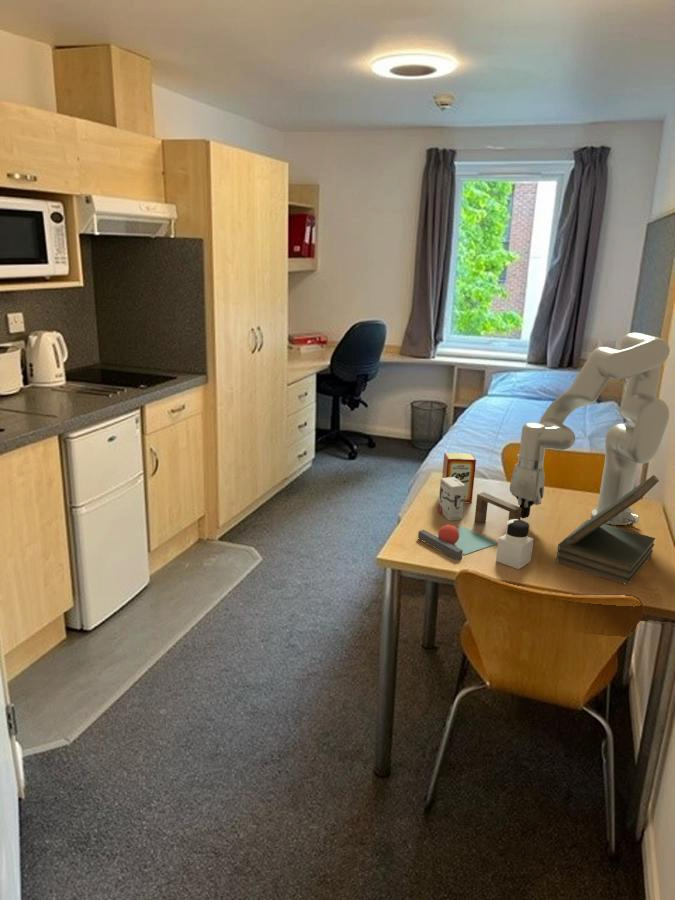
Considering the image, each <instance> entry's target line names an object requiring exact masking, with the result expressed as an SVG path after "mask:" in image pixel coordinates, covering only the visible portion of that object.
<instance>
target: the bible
mask: <svg viewBox="0 0 675 900" xmlns="http://www.w3.org/2000/svg"><path fill="white" fill-rule="evenodd" d="M659 481H660V480H659V479H658V477H657V476H656V475H654V474H653V475H652V476H650V477H649V478H647V479H646V480H644V481H643V482H642V483H640V484H639V485H637V486H636V487H635V488H634V487H633V490H631V491H630V492H629V493H627V494H626V495H624V496H623V497H621V498H620V499H618V500H617V501H616V502H614V503H613V504H611V505H610V506H608V507H607V508H605V509H604V510H603V511H601V512H600V513H598V514H597V515H595V516H594V517H592V516H591V518H590V519H586V520H585V521H584V522H582V523H581V524H580V525H579V526H578V527H576V529H575V530H573V531H572V532H570V534H568V535H567V537H565V538H564V539H563V540H562V541H561V542H559V543H558V544H557V552H556V558H555V563H556V564H559V565H563V566H567V567H570V568H573V569H575V570H579V571H582V572H585V573H588V574H591V575H594V576H596V577H600V578H603V579H607V580H609V579H610V580H609V581H612V580H613V581H612V582H615V581H617V582H616V583H618V582H621V583H625V584H630V583H631V582H632V581H633V580H634V578H635V577H636V576H637V575H638V573H639V572H640V571H641V570H642V568H643V567H644V566H645V565H646V563H647V562H648V561H649V559H650V558H651V557H652V554H653V552H654V550H653V548H654V546H655V543H654V541H655V540H656V537H652V536H649V535H644V534H642V533H639V532H638V533H637V532H635V531H631V530H627V529H623V528H620V527H616V526H614V525H609V524H605V523H606V522H608V521H609V520H611V519H612V518H613V517H615V516H616V515H618V514H619V513H621V512H622V511H624V510H625V509H627V508H628V507H630V508H631V507H632V505H635V503H636V504H637V502H639V501H640V500H641V499H642V498H643V497H644V496H645V495H646V494H647V493H649V491H651V489H652V488H654V486H656V484H657V483H658V482H659ZM650 556H651V557H650ZM649 557H650V558H649ZM647 560H648V561H647ZM646 561H647V562H646ZM643 565H644V566H643ZM642 566H643V567H642ZM641 567H642V568H641ZM639 570H640V571H639ZM638 571H639V572H638ZM635 575H636V576H635ZM634 576H635V577H634ZM632 579H633V580H632ZM631 580H632V581H631ZM630 581H631V582H630ZM629 582H630V583H629ZM621 583H620V584H621Z"/></svg>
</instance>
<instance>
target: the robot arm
mask: <svg viewBox="0 0 675 900" xmlns="http://www.w3.org/2000/svg"><path fill="white" fill-rule="evenodd" d="M669 355H670V345H669V343H668V342H667V341H666V340H665V339H663V338H662V337H657V336H654V335H649V334H646V333H642V332H630V333H627V334H626V335H624V336H623V338H622V339H621V342H620V349H616V348H612V347H608V346H600V347H597V348H595V349H594V350H592V352H591V353H590V355H589V357H588V358H587V359H586V362H584V364H583V366H582V368H581V370H580V371H579V372H578V374H577V376H575V377H576V378H575V379H574V381H573V383H572V384H571V385H570V387H569V388H568V389H567V390H565V392H562V393H561V394H560V395H559V396H558V397H557V398H555V400H553V401H552V403H550V404H549V406H548V407H547V408H546V410H545V412H544V413H543V415H542V417H541V418H540V420H539V422H526V423H525V424H523V425H522V429H521V436H520V444H519V453H518V454H517V455H516V459H518V461H517V463H515V464H514V468H513V470H512V473H511V479H510V484H509V492H510V493H511V495H512V496H514V497H515V498H516V500H517V502H518V505H519V507H520V508H522V511H521V519H526V518H527V519H528V518H529V517H530V513H531V507H532V506H533V505H536V506H538V505H539V506H540V505H541V504H542V499H543V497H544V493H545V469H544V460H545V453H546V449H549V450H551V449H552V450H556V451H564V450H567V449H570V448H571V447H572V446H573V445H574V444H575V441H576V433H575V432H574V431H573V430H572V429H571V428H570V427H569V426H566V425H565V424H564V422H565V421H566V420H567V418H568V417H569V415H570V414H572V413H573V412H574V411H575V410H577V409H579V408H582V407H585V406H589V405H592V404H594V403H596V402H597V399H598V398H599V397H600V395H601V394H602V392H603V390H604V389H605V387H606V385H607V384H608V382H609V381H610V380H612V381H614V380H615V381H621V380H624V379H628V382H627V385H626V388H625V392H624V395H623V397H622V401H621V404H620V410H619V412H620V415H621V416H622V417H623V418H624V419H626V420H627V421H630V422H631V423H633V424H634V426H633V425H632V424H628V423H616V424H615V425H613V426H611V427H610V428H609V429H608V431H607V432H606V435H605V439H604V449H605V451H604V452H605V454H604V455H605V457H604V458H605V459H604V465H603V471H602V477H601V484H600V487H599V488H600V489H599V495H598V496H599V497H598V502H597V507H596V508H594V509H592V510H591V512H590V513H591V514H590V515H591V516H590V517H591V518H592V517H594V516H595V515H597V514H598V513H600V512H601V511H603V510H604V509H605V508H607V507H608V506H610V505H611V504H613V503H614V502H616V501H617V500H618V499H620V498H621V497H623V496H624V495H626V494H627V493H629V492H630V491H631V490H633V489H634V485H635V480H636V476H637V475H636V474H637V467H638V466H637V465H638V464H639V465H640V464H642V465H643V464H647V463H648V462H650V461H652V460H653V458H654V457H655V456H656V455H657V453H658V450H659V447H660V445H661V442H662V440H663V436H664V434H665V431H666V428H667V425H668V423H669V419H670V409H669V406H668V405H667V403H666V402H665V401H664V400H662V399H661V398H658V397H656V396H657V393H658V389H659V385H660V381H661V377H662V376H661V373H662V371H661V365H663V363H665V362H666V361H667V359H668V358H669ZM639 521H640V516H639V515H637V514H634V513H633V508H632V507H631V506H630V507H628V508H627V509H625V510H624V511H622V512H621V513H619V514H618V515H616V516H615V517H613V518H612V519H611V520H609V521H608V522H606V525H609V524H611V525H610V526H616V525H625V526H628V525H627V524H629V525H631V524H632V523H633V524H638V523H639ZM631 522H632V523H631ZM630 523H631V524H630Z"/></svg>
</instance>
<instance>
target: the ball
mask: <svg viewBox="0 0 675 900" xmlns="http://www.w3.org/2000/svg"><path fill="white" fill-rule="evenodd" d="M457 528H458V527H456V526H455V525H452V524H445V525H443V526H441V527H440V528H439V530H438V533H437V534H438V537H439V538H440V539H442V540H444V541H446V542H448V543H450V544H452V545H453V544H455V543H456V542H457V541H458V539H459V532H458V530H457Z"/></svg>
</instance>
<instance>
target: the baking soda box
mask: <svg viewBox="0 0 675 900" xmlns="http://www.w3.org/2000/svg"><path fill="white" fill-rule="evenodd" d="M442 464H443V465H442V477H441V478H447V477H455V478H456V479H458V480H459V481H460V482H462V483H463V484H465V493H464V502H470V503H469V504H472V503H473V496H474V495H473V494H474V483H475V472H476V465H477V459H476V457H475V456H474V455H473V454H472V453H465V452H463V453H460V452H444V455H443V463H442Z"/></svg>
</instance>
